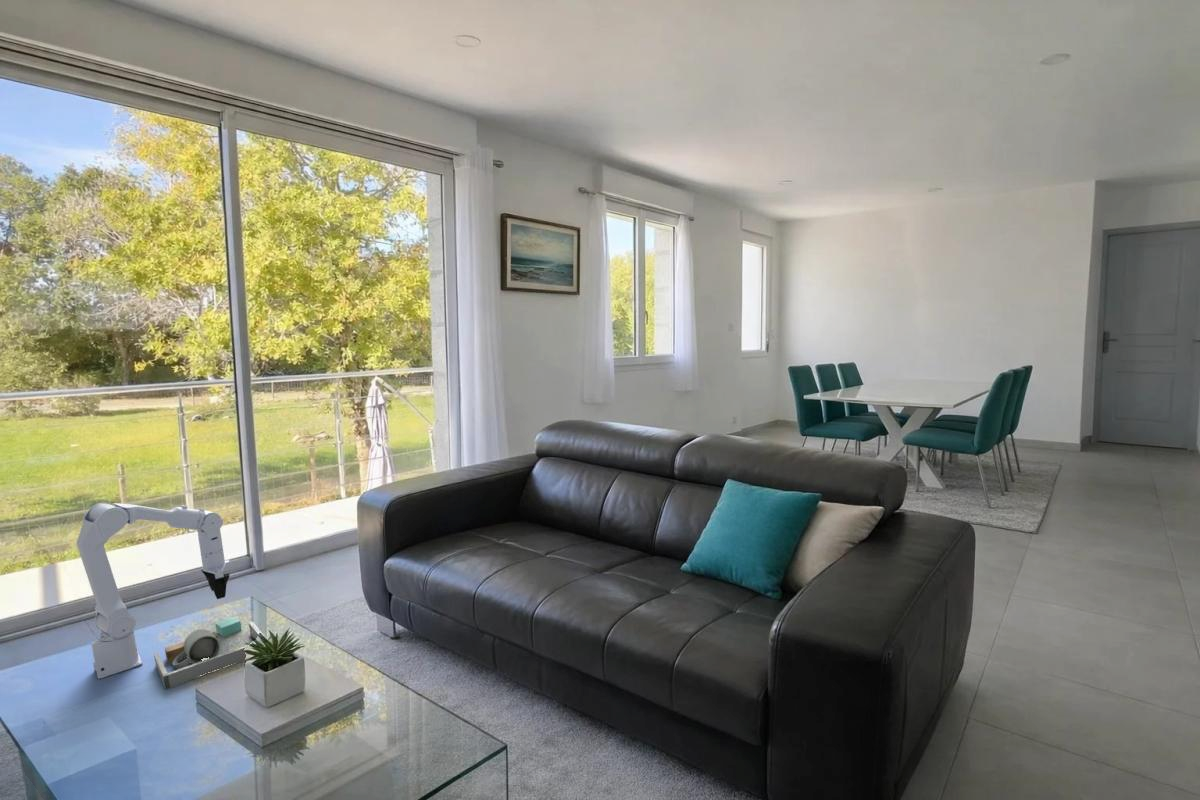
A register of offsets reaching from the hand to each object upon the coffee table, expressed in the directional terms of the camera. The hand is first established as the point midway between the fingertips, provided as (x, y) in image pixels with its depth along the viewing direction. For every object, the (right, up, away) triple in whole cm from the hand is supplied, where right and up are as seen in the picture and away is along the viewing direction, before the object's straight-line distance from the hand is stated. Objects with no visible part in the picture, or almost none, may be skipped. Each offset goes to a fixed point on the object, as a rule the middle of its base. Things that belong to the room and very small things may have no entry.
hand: (218, 593), depth 193 cm
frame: (+9, -12, -18) cm, 24 cm away
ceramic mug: (+6, -13, -19) cm, 24 cm away
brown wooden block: (+2, -12, -15) cm, 19 cm away
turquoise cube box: (+5, -10, -3) cm, 12 cm away
